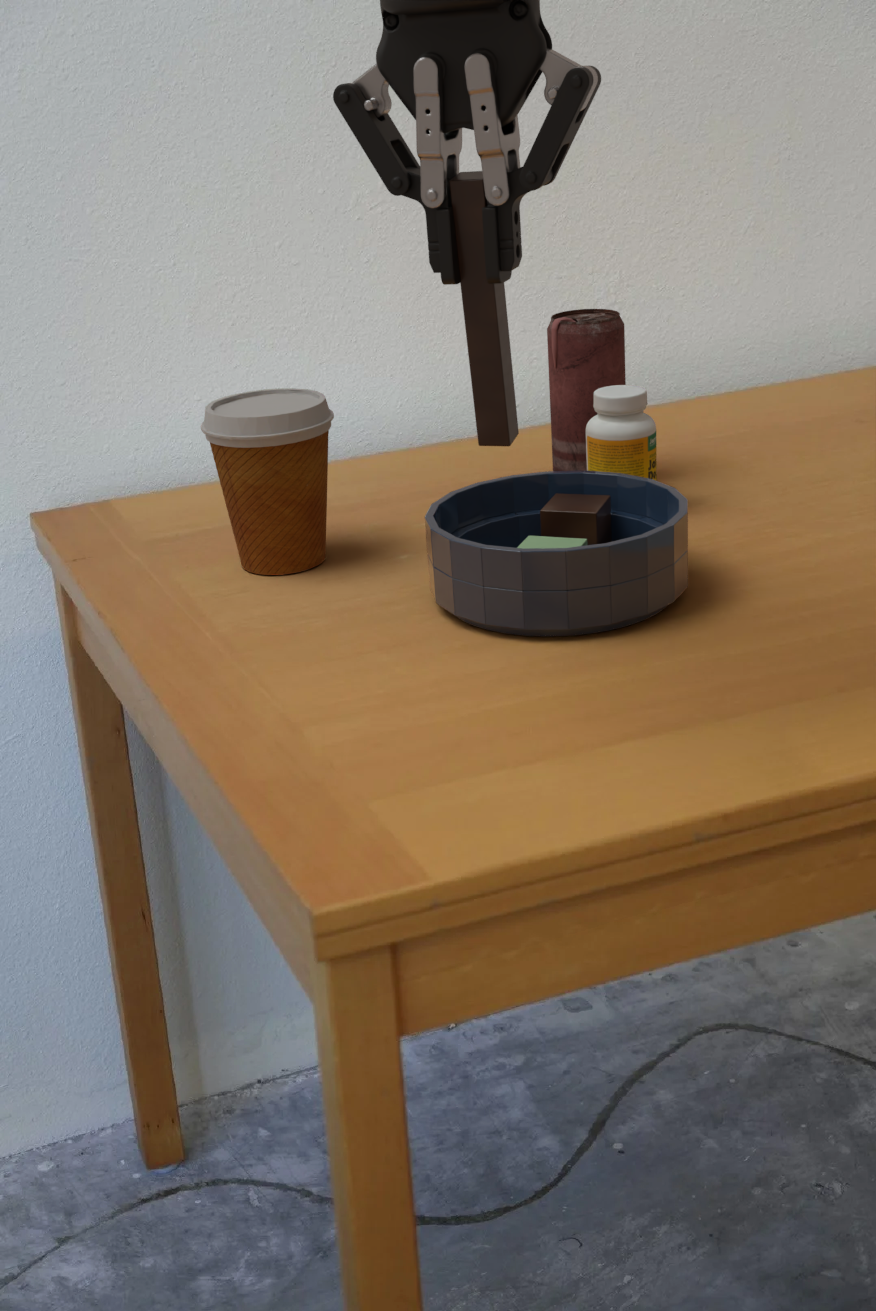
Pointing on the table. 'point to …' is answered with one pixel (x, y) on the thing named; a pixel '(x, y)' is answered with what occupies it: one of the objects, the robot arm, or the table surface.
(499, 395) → the stick
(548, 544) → the green block
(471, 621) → the bowl
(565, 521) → the walnut block
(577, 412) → the can
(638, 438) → the supplement bottle
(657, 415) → the table surface
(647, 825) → the table surface
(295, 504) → the disposable coffee cup
